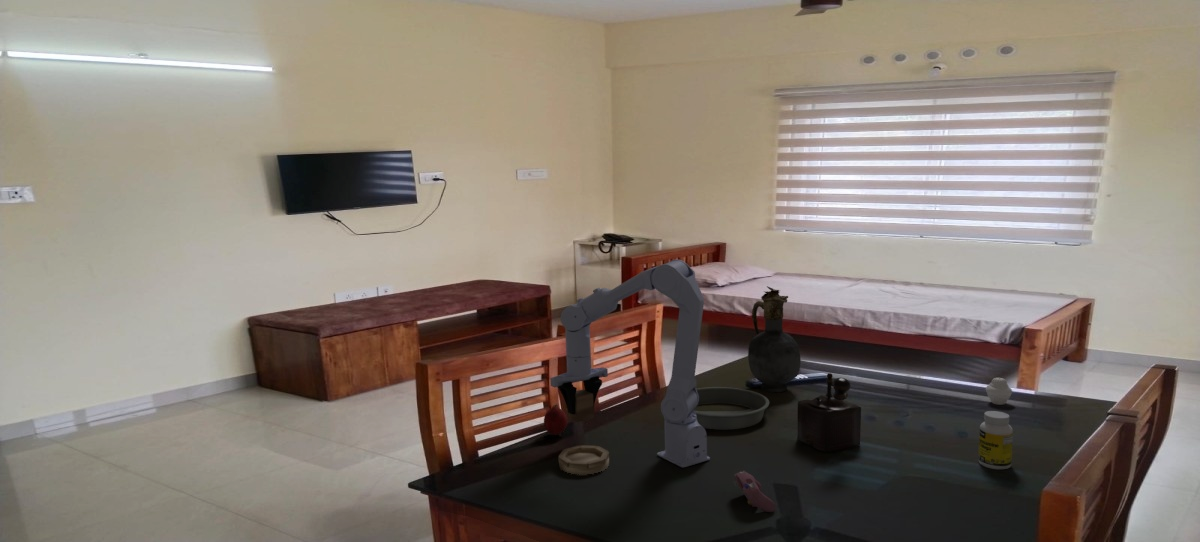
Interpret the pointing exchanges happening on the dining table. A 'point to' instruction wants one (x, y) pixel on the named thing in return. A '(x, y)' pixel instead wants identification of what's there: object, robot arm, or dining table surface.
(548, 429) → the onion
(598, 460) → the base
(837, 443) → the manual coffee grinder
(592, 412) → the walnut block
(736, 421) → the cake pan
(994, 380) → the white rounded lump
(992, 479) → the dining table surface
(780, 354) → the pitcher
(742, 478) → the pink animal figurine
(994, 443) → the pill bottle
